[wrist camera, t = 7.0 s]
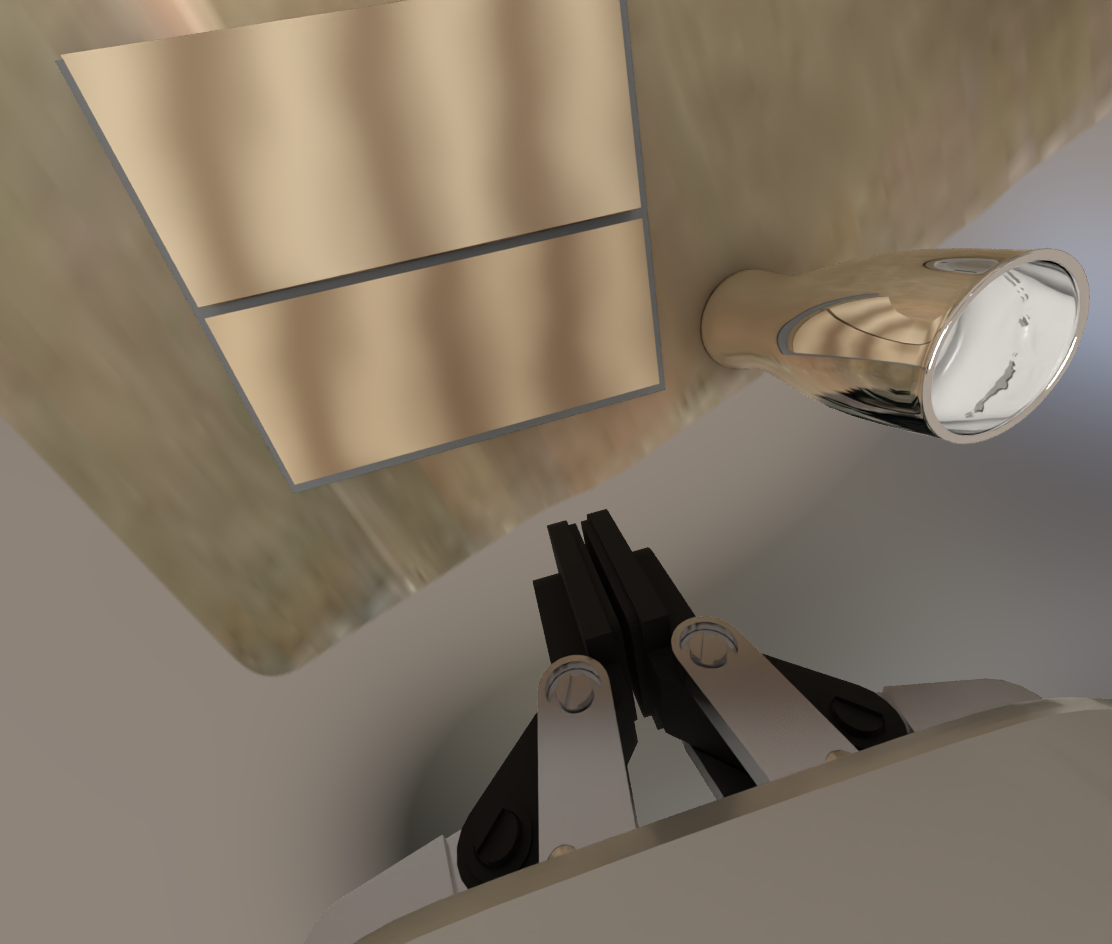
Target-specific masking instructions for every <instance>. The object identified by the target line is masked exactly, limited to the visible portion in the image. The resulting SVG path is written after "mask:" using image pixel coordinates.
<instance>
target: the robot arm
mask: <svg viewBox="0 0 1112 944" xmlns="http://www.w3.org/2000/svg"><path fill="white" fill-rule="evenodd" d="M581 525H582V531H583V535H584V540H585V544H584V542H583V539H582V537H581V535H580V532H579V530H578V528H577V526H576V524H575V523H574V524H571V525H568V523H567V521H562V522H559V523H555V524H551V525H548V526H547V528H548V532H549V536H550V539H551V544H552V548H553V552H554V556H555V560H556V564H557V568H558V572H559V573H558V574H554V575H551V576H547V577H544V578H541V579H537V580H534V581H533V585H534V590H535V594H536V599H537V603H538V608H539V612H540V616H541V621H542V625H543V630H544V635H545V639H546V644H547V648H548V653H549V657H550V661H551V665H550V666H549V667H548V668H547V669H546V670H545V671H544V673H543V675H542V677H541V679H540V681H539V685H538V692H537V700H538V701H537V703H538V704H537V709H538V712H537V713H536V715H535V716H534V718H533V719H532V721H531V722H530V724H529V725H528V727H527V728H526V730H525V731H524V733H523V734H522V736H521V737H520V739H519V740H518V742H517V743H516V745H515V747H514V748H513V749H512V751H511V752H510V754H509V755H508V757H507V758H506V760H505V761H504V763H503V765H502V766H501V767H500V769H499V771H498V772H497V773H496V775H495V777H494V778H493V779H492V781H491V783H490V784H489V786H488V787H487V789H486V790H485V792H484V793H483V795H482V796H481V798H480V799H479V801H478V802H477V804H476V805H475V807H474V808H473V810H472V811H471V813H470V814H469V816H468V818H467V820H466V822H465V824H464V826H463V828H462V829H461V830H460V831H458V832H456V833H455V834H453V835H452V836H450V837H448V838H447V839H445V838H444V837H443V835H441V836H440V837H438V838H436V839H435V840H433V841H432V842H430V843H429V844H427V845H425V846H424V847H422V848H420V849H419V850H417V851H416V852H414V853H413V854H411V855H409V856H408V857H406V858H404V859H403V860H401V861H400V862H398V863H397V864H395V865H393V866H392V867H390V868H388V869H387V870H385V871H384V872H382V873H381V874H379V875H378V876H376V877H374V878H372V879H371V880H369V881H368V882H366V883H364V884H363V885H362V886H360V887H358V888H356V889H355V890H354V891H352V892H350V893H348V894H347V895H345V896H344V897H342V898H340V899H339V900H337V901H336V902H335V903H334V904H333V905H332V906H330V907H329V908H328V909H327V910H326V911H325V912H323V914H322V915H321V916H320V918H319V919H318V920H317V922H316V923H315V925H314V926H313V927H312V929H311V930H310V932H309V934H308V936H307V938H306V940H305V943H304V944H1112V699H1102V698H1070V697H1069V698H1068V697H1064V698H1050V699H1042V698H1041V697H1040V696H1039V695H1037V694H1035V693H1033V692H1031V691H1029V690H1028V689H1026V688H1024V687H1022V686H1020V685H1016V684H1013V683H1010V682H1007V681H1004V680H997V679H974V680H961V681H950V682H949V681H948V682H935V683H922V684H910V685H897V686H884V687H883V691H882V692H878V693H874V692H873V691H870V690H868V689H866V688H863V687H861V686H859V685H856V684H853V683H850V682H847V681H844V680H841V679H838V678H835V677H832V676H829V675H826V674H822V673H819V672H816V671H813V670H810V669H807V668H804V667H801V666H798V665H795V664H792V663H789V662H786V661H783V660H780V659H777V658H774V657H770V656H768V655H765V654H762V653H760V652H759V651H758V650H757V649H756V648H755V647H754V646H753V645H752V644H751V643H750V642H749V641H748V640H747V639H746V638H745V637H744V636H743V635H742V634H741V633H740V632H739V631H738V630H737V629H736V628H735V627H734V626H732V625H731V624H729V623H728V622H726V621H723V620H721V619H719V618H714V617H709V616H702V617H696V616H695V615H694V613H693V612H692V610H691V609H690V607H689V606H688V604H687V603H686V601H685V600H684V598H683V597H682V595H681V594H680V592H679V591H678V589H677V588H676V586H675V585H674V583H673V582H672V580H671V579H670V577H669V575H668V574H667V573H666V571H665V570H664V568H663V567H662V565H661V563H660V562H659V560H658V559H657V557H656V556H655V555H654V553H653V552H652V550H651V549H650V548H648V547H647V548H644V549H641V550H637V551H634V552H632V551H631V549H630V547H629V546H628V544H627V542H626V540H625V539H624V537H623V536H622V534H621V532H620V530H619V529H618V527H617V525H616V524H615V522H614V520H613V519H612V517H611V515H610V514H609V512H608V510H607V509H605V510H601V511H597V512H594V513H590V514H587V520H585V521H581ZM632 690H633V691H632ZM633 692H634V695H635V697H636V700H637V702H638V705H639V707H640V710H641V712H642V715H643V716H644V717H648V716H651V715H652V717H653V720H654V722H655V724H656V727H657V729H658V730H659V729H662V728H664V729H665V731H666V733H668V734H670V735H672V736H674V737H676V738H678V739H681V741H682V744H683V746H684V748H685V750H686V752H687V754H688V755H689V757H690V759H691V760H692V762H693V763H694V765H695V766H696V768H697V770H698V771H699V773H700V774H701V776H702V778H703V779H704V781H705V782H706V784H707V786H708V787H709V789H710V790H711V792H712V793H713V795H714V797H715V798H716V801H713V802H711V803H708V804H705V805H703V806H699V807H697V808H693V809H691V810H688V811H685V812H682V813H679V814H676V815H673V816H670V817H668V818H665V819H662V820H659V821H656V822H653V823H650V824H648V825H645V826H642V827H639V826H638V821H637V815H636V809H635V804H634V799H633V793H632V788H631V782H630V777H629V771H628V766H627V765H628V762H629V760H630V758H631V756H632V754H633V751H634V749H635V747H636V745H637V742H638V740H637V734H636V730H635V723H634V721H636V720H637V714H636V708H635V702H634V697H633Z"/></svg>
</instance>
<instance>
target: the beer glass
mask: <svg viewBox="0 0 1112 944" xmlns="http://www.w3.org/2000/svg"><path fill="white" fill-rule="evenodd" d="M1089 299H1090V296H1089V285H1088V280H1087V276H1086V274H1085V271H1084V269H1083V267H1082V266H1081V265H1080V263H1079V262H1078V261H1077V260H1076V259H1075V258H1074V257H1073V256H1071V255H1070V254H1068V253H1066V252H1064V251H1061V250H1057V249H1049V248H1046V249H1045V248H1044V249H1036V250H1012V249H973V248H972V249H971V248H964V249H963V248H952V249H921V250H911V251H901V252H892V253H884V254H879V255H874V256H869V257H864V258H859V259H854V260H850V261H846V262H843V263H839V264H835V265H831V266H828V267H824V268H821V269H817V270H814V271H810V272H806V273H802V274H798V275H791V276H786V275H780V274H776V273H773V272H769V271H765V270H760V269H748V270H744V271H740V272H738V273H735V274H733V275H731V276H730V277H728V278H727V279H725V280H724V281H723V282H722V283H721V284H720V285H719V286H718V287H717V288H716V289H715V291H714V292H713V293H712V295H711V296H710V298H709V300H708V302H707V304H706V307H705V309H704V313H703V317H702V323H701V334H702V340H703V344H704V347H705V349H706V351H707V352H708V354H709V355H710V356H711V358H712V359H713V360H715V361H716V362H717V363H719V364H720V365H722V366H725V367H729V368H735V369H759V370H762V371H765V372H767V373H769V374H771V375H773V376H774V377H776V378H778V379H780V380H781V381H783V382H784V383H786V384H787V385H789V386H791V387H792V388H794V389H796V390H798V391H799V392H801V393H802V394H804V395H806V396H808V397H810V398H812V399H814V400H816V401H817V402H819V403H821V404H823V405H825V406H827V407H830V408H832V409H835V410H838V411H840V412H843V413H846V414H848V415H851V416H854V417H857V418H860V419H864V420H867V421H871V422H874V423H877V424H881V425H885V426H889V427H893V428H898V429H902V430H905V431H910V432H914V433H919V434H923V435H928V436H932V437H936V438H940V439H943V440H946V441H948V442H951V443H957V444H971V443H977V442H981V441H984V440H988V439H990V438H993V437H995V436H997V435H999V434H1001V433H1003V432H1005V431H1007V430H1008V429H1010V428H1011V427H1013V426H1014V425H1016V424H1017V423H1018V422H1020V421H1021V420H1022V419H1024V418H1025V417H1026V416H1027V415H1028V414H1029V413H1031V412H1032V411H1033V410H1034V409H1035V408H1036V407H1037V406H1038V405H1039V404H1040V403H1041V402H1042V400H1044V399H1045V397H1046V396H1047V395H1048V394H1049V393H1050V392H1051V390H1052V389H1053V388H1054V386H1055V385H1056V384H1057V382H1058V381H1059V380H1060V378H1061V377H1062V375H1063V374H1064V372H1065V370H1066V369H1067V367H1068V365H1069V363H1070V362H1071V360H1072V358H1073V356H1074V354H1075V352H1076V350H1077V348H1078V345H1079V343H1080V340H1081V338H1082V335H1083V332H1084V329H1085V325H1086V321H1087V316H1088V311H1089Z"/></svg>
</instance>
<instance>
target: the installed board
mask: <svg viewBox="0 0 1112 944" xmlns="http://www.w3.org/2000/svg"><path fill="white" fill-rule="evenodd" d="M61 56H62V58H63V60H64V62H65V63H66V65H67V67H68V69H69V71H70V73H71V74H72V76H73V78H74V80H75V82H76V84H77V86H78V87H79V89H80V91H81V93H82V95H83V97H84V98H85V100H86V102H87V104H88V106H89V108H90V109H91V111H92V113H93V115H94V117H95V119H96V120H97V122H98V124H99V126H100V128H101V130H102V131H103V133H104V135H105V137H106V139H107V141H108V142H109V144H110V146H111V148H112V150H113V152H114V154H115V155H116V157H117V159H118V161H119V163H120V165H121V166H122V168H123V170H124V172H125V174H126V176H127V177H128V179H129V181H130V183H131V185H132V187H133V188H134V190H135V192H136V194H137V196H138V198H139V199H140V201H141V203H142V205H143V207H144V209H145V210H146V212H147V214H148V216H149V218H150V220H151V222H152V223H153V225H154V227H155V229H156V231H157V233H158V234H159V236H160V238H161V240H162V242H163V244H164V245H165V247H166V249H167V251H168V253H169V255H170V256H171V258H172V260H173V262H174V264H175V266H176V267H177V269H178V271H179V273H180V275H181V277H182V278H183V280H184V282H185V284H186V286H187V288H188V290H189V291H190V293H191V295H192V297H193V299H194V301H195V302H196V304H197V306H198V307H208V306H216V305H220V304H225V303H229V302H234V301H238V300H242V299H247V298H251V297H256V296H260V295H264V294H269V293H273V292H278V291H282V290H287V289H291V288H295V287H300V286H304V285H309V284H313V283H317V282H322V281H326V280H331V279H335V278H339V277H344V276H348V275H353V274H357V273H362V272H366V271H370V270H375V269H379V268H384V267H388V266H392V265H397V264H401V263H406V262H410V261H414V260H419V259H423V258H428V257H432V256H436V255H441V254H445V253H450V252H454V251H459V250H463V249H467V248H472V247H476V246H481V245H485V244H489V243H494V242H498V241H503V240H507V239H511V238H516V237H520V236H525V235H529V234H534V233H538V232H542V231H547V230H551V229H556V228H560V227H564V226H569V225H573V224H578V223H582V222H586V221H591V220H595V219H600V218H604V217H609V216H613V215H617V214H622V213H626V212H630V211H633V210H636V209H638V208H641V202H640V192H639V183H638V173H637V164H636V154H635V145H634V135H633V126H632V116H631V106H630V97H629V87H628V78H627V68H626V59H625V49H624V40H623V30H622V20H621V11H620V1H619V0H407V1H401V2H394V3H388V4H382V5H375V6H369V7H363V8H356V9H350V10H344V11H337V12H331V13H324V14H318V15H312V16H305V17H299V18H293V19H286V20H280V21H274V22H267V23H261V24H255V25H248V26H242V27H235V28H229V29H223V30H216V31H210V32H204V33H197V34H191V35H185V36H178V37H172V38H166V39H159V40H153V41H147V42H140V43H134V44H127V45H121V46H115V47H108V48H102V49H96V50H89V51H83V52H77V53H70V54H64V55H61Z"/></svg>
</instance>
